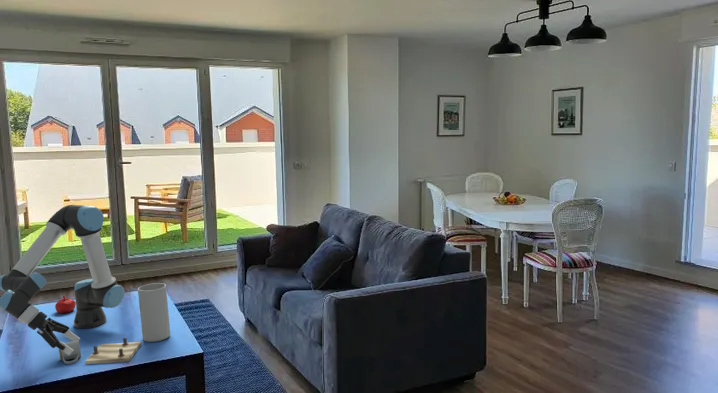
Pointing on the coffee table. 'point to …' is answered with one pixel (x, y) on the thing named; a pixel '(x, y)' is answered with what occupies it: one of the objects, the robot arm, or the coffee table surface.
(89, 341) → the coffee table surface
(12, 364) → the coffee table surface
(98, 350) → the post board
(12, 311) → the robot arm
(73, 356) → the ceramic mug
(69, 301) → the red pumpkin
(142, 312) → the cylinder vase
